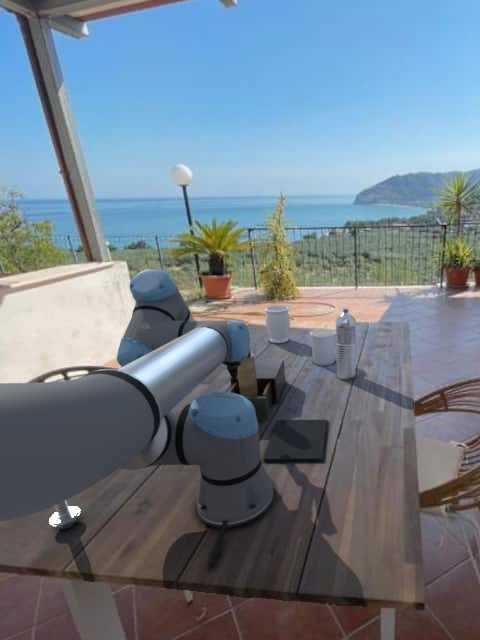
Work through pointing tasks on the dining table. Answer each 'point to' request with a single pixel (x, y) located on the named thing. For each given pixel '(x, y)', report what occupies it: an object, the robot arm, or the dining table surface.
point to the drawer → (259, 397)
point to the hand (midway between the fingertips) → (210, 376)
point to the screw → (64, 516)
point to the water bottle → (346, 346)
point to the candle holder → (323, 346)
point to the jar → (277, 323)
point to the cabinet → (270, 374)
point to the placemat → (297, 441)
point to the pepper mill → (248, 377)
